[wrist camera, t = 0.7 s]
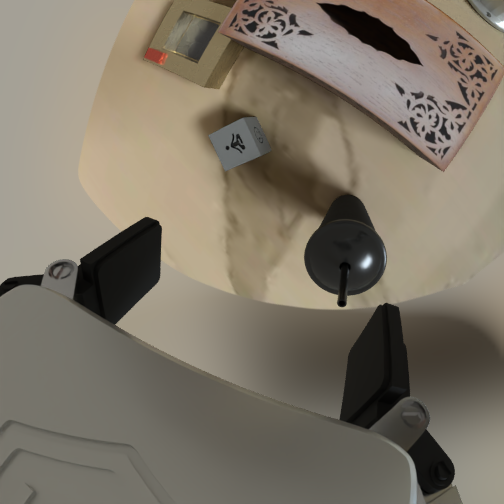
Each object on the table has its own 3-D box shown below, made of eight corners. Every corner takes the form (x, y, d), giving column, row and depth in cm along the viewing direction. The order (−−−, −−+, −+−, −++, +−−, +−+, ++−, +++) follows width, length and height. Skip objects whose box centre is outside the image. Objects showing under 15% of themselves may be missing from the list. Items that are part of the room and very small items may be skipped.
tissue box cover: (249, 49, 30) (217, 31, 22) (300, -28, 22) (283, -63, 14) (419, 156, 30) (443, 172, 21) (471, 77, 22) (506, 69, 14)
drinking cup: (354, 172, 34) (358, 234, 17) (386, 219, 35) (410, 316, 18) (308, 205, 38) (268, 288, 21) (341, 248, 39) (326, 353, 22)
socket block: (195, 1, 28) (176, -9, 23) (258, 23, 28) (245, 12, 23) (161, 62, 34) (140, 59, 29) (219, 89, 34) (201, 87, 29)
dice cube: (272, 150, 36) (261, 155, 32) (239, 164, 38) (225, 171, 34) (256, 116, 34) (243, 117, 30) (224, 132, 36) (208, 135, 32)
